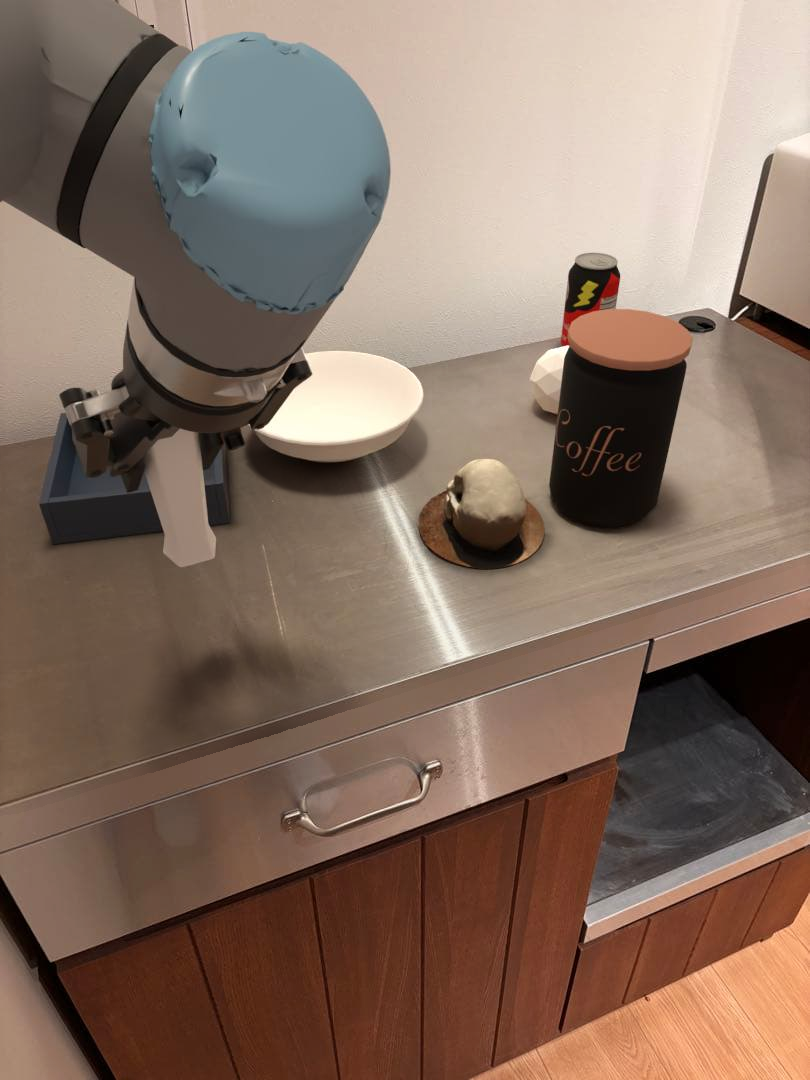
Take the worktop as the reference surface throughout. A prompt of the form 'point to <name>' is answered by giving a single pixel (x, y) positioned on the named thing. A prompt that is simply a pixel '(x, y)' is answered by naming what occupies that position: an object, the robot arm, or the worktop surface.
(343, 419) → the bowl
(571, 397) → the coffee jar
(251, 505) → the worktop surface
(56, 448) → the bin
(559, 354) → the geometric ball
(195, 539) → the perfume bottle
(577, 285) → the beverage can
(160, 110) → the robot arm
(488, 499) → the skull
